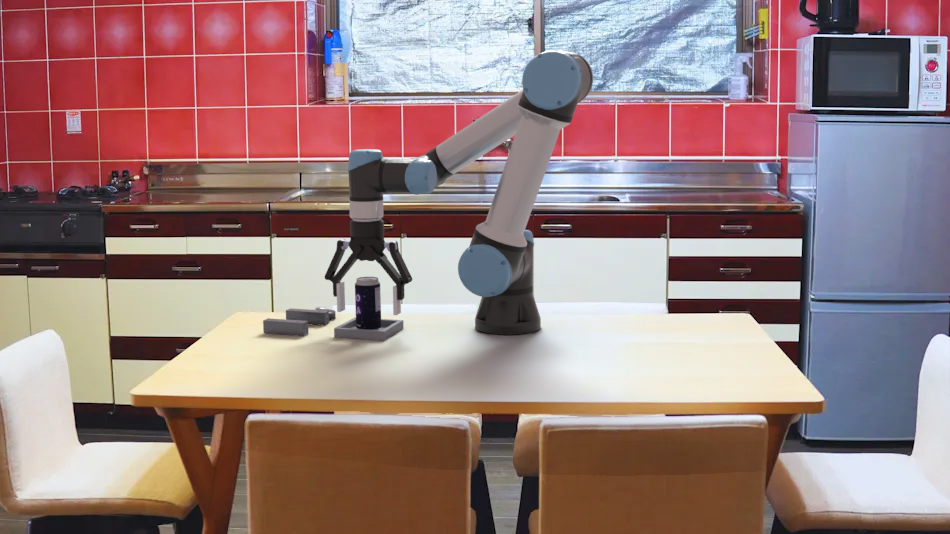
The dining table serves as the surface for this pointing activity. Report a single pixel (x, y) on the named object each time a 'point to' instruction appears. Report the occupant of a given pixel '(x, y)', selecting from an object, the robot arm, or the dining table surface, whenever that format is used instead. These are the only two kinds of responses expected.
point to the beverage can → (368, 303)
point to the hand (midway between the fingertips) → (368, 312)
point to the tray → (383, 333)
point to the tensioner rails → (298, 321)
